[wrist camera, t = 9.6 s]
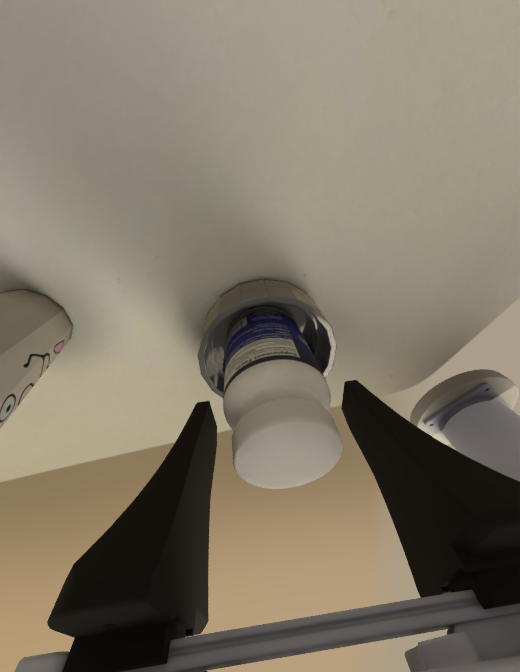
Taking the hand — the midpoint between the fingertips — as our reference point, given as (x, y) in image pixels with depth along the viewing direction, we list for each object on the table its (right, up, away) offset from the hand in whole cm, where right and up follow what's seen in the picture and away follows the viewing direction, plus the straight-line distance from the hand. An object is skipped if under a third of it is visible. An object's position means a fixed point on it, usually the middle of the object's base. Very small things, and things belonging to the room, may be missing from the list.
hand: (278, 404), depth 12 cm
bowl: (-1, +4, +6) cm, 7 cm away
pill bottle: (-1, +4, +6) cm, 7 cm away
